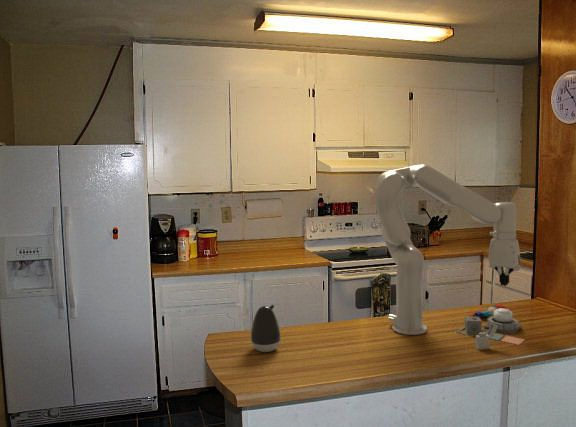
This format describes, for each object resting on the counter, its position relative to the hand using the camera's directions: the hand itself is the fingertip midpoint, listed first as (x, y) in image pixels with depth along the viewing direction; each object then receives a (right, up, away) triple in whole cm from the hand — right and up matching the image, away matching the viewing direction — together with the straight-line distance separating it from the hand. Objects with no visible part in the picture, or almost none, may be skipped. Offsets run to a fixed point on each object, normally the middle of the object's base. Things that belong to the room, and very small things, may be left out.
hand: (504, 284), depth 180 cm
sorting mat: (-8, -17, -6) cm, 20 cm away
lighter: (-14, -19, -17) cm, 29 cm away
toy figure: (+1, -16, +15) cm, 22 cm away
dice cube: (-12, -17, -1) cm, 21 cm away
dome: (0, -13, +1) cm, 13 cm away
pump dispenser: (-88, -20, -13) cm, 91 cm away
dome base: (0, -16, +2) cm, 17 cm away
